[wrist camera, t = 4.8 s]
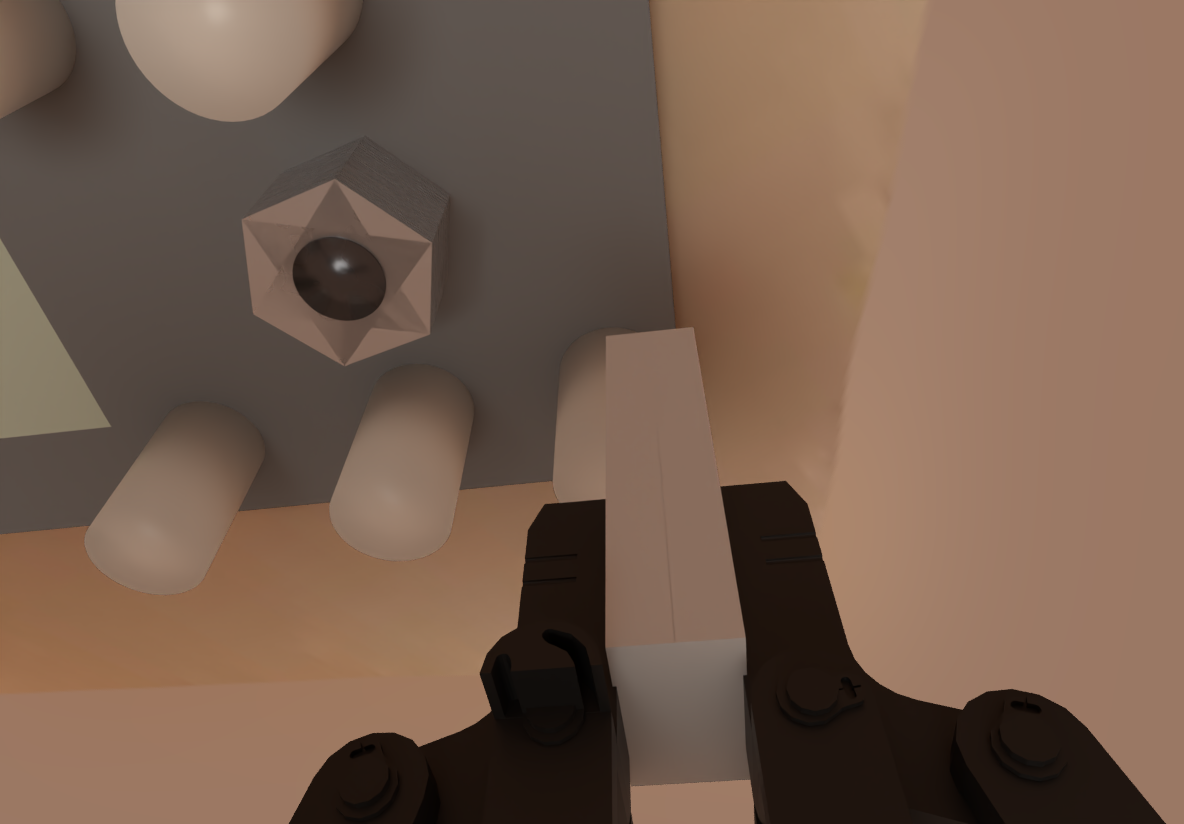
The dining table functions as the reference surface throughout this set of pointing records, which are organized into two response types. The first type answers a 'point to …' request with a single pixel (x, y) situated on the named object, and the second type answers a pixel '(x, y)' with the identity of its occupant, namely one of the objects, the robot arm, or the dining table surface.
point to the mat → (218, 258)
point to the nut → (349, 252)
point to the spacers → (224, 436)
